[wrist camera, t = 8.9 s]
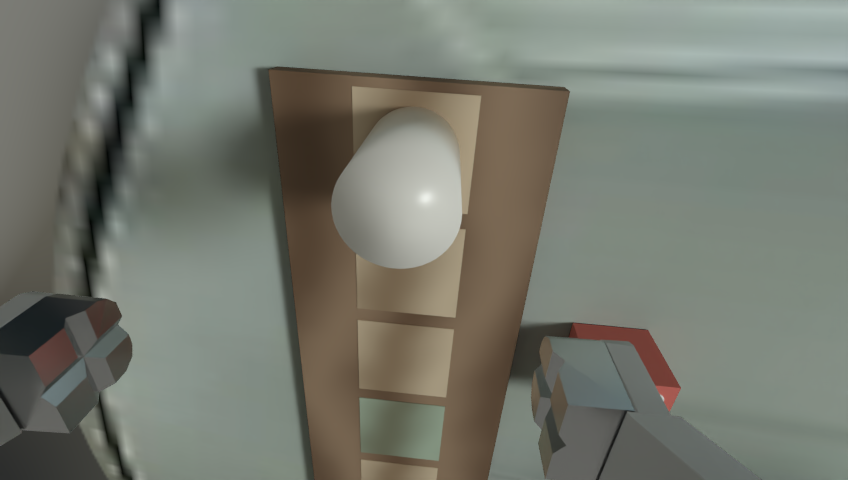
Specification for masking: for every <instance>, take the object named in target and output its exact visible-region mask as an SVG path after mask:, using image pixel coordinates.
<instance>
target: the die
mask: <svg viewBox="0 0 848 480" xmlns="http://www.w3.org/2000/svg"><path fill="white" fill-rule="evenodd" d="M569 338H579V339H592V340H615V341H629V342H630V343H631V344H633V345H634V347H635V349H636V351H637V353H638V354H639V356H640V358H641V360H642V362H643V364H644V366H645V367H646V369H647V371H648V373H649V375H650V377H651V379H652V381H653V382H654V384H655V386H656V388H657V390H658V392H659V394H660V396H661V397H662V399H663V401H664V403H665V405H666V407H667V409H668V411H669V412H670V409H671V407H672V405H673V403H674V401H675V399H676V397H677V395H678V393H679V391H680V389H681V387H680V386H679V384H678V382H677V380H676V379H675V377H674V375H673V373H672V372H671V370H670V368H669V366H668V365H667V363H666V361H665V359H664V357H663V356H662V354H661V352H660V350H659V349H658V347H657V345H656V343H655V342H654V340H653V338H652V336H651V335H650V333H649V331H648V330H641V329H631V328H621V327H610V326H600V325H590V324H579V323H573V324H572V327H571V331H570V334H569Z"/></svg>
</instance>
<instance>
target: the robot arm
mask: <svg viewBox="0 0 848 480" xmlns="http://www.w3.org/2000/svg"><path fill="white" fill-rule="evenodd" d="M121 317H122V315H121V313H120V310H119V308H118V306H117V304H116V302H113V301H111V300H108V299H103V298H94V297H85V296H76V295H66V294H52V293H43V292H34V291H32V292H27V293H22V294H19V295H17V296H16V297H14V298H13V299H11V300H9V301H8V302H6V303H5V304H3V305H2V306H0V446H1V445H3V444H4V443H6V442H8V441H9V440H11V439H13V438H14V437H16V436H17V435H19V434H21V433H22V431H21V430H28V431H43V432H58V433H71V431H72V430H73V429H74V428H75V427H76V426H77V425H78V424H79V423H80V422H81V421H82V419H83V418H84V417H85V416H86V415H87V414H88V413H89V412H90V411H91V410H92V409H93V407H94V406H95V405H96V404H97V403H98V398H99V392H100V391H102V390H103V389H105V388H107V387H109V386H111V385H113V384H115V383H116V382H117V381H118V380H119V379H120V377H121V376H122V375H123V374H124V373H125V372H126V370H127V368H128V365H129V363H130V360H131V358H132V342H131V339H130V337H129V334H128V333H127V332H125V331H124V330H123V329H122V328H121V327H120V326H119V325H118V323H119V321H120V319H121ZM539 354H540V359H541V363H542V365H540V366H539V367H538V368H536V369H535V371H534V376H533V381H532V392H531V401H532V411H533V417H534V422H535V423H536V424H537V425H538V426H539V427H540V428H541V429H542V431H541V435H540V439H539V442H538V444H539V450H540V455H541V460H542V465H543V470H544V475H545V479H550V480H762V479H760V478H759V477H758V476H756V475H755V474H754V473H753V472H751V471H750V470H749V469H747V468H746V467H745V466H744V465H742V464H741V463H740V462H738V461H737V460H736V459H735V458H733V457H732V456H731V455H729V454H728V453H727V452H725V451H724V450H723V449H722V448H720V447H719V446H718V445H716V444H715V443H714V442H713V441H711V440H710V439H709V438H707V437H706V436H705V435H704V434H702V433H701V432H700V431H698V430H697V429H696V428H695V427H693V426H692V425H691V424H689V423H688V422H687V421H686V420H684V419H683V418H682V417H679V416H671V414H670V412H669V411H668V409H667V407H666V405H665V403H664V401H663V399H662V397H661V396H660V394H659V392H658V390H657V388H656V386H655V384H654V382H653V381H652V379H651V377H650V375H649V373H648V371H647V369H646V367H645V366H644V364H643V362H642V360H641V358H640V356H639V354H638V353H637V351H636V349H635V347H634V345H633V344H631V343H630V342H629V341H615V340H592V339H579V338H566V337H553V336H545V337H544V338H543V340H542V342H541V346H540V350H539Z"/></svg>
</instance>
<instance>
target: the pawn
mask: <svg viewBox="0 0 848 480" xmlns="http://www.w3.org/2000/svg"><path fill="white" fill-rule="evenodd" d="M331 209H332V216H333V221H334V224H335V227H336V229H337V231H338V233H339V235H340V236H341V238H342V239H343V241H344V242H345V243H346V244H347V245H348V247H349V248H350V249H352V250H353V251H354V252H355V253H356V254H358V255H359V256H360V257H362V258H363V259H365V260H367V261H369V262H371V263H374V264H376V265H379V266H383V267H387V268H395V269H407V268H414V267H418V266H422V265H424V264H427V263H429V262H431V261H433V260H435V259H437V258H438V257H439V256H441V255H442V254H443V253H444V252H445V251H446V250H447V249H448V248H449V247H450V246H451V244H452V243H453V241H454V240H455V238H456V236H457V234H458V232H459V229H460V225H461V220H462V196H461V168H460V147H459V142H458V139H457V136H456V134H455V132H454V130H453V129H452V127H451V126H450V124H449V123H448V122H447V121H446V120H445V119H444V118H443V117H441V116H440V115H438V114H437V113H435V112H433V111H431V110H428V109H426V108H421V107H403V108H399V109H396V110H393V111H391V112H389V113H388V114H386V115H385V116H383V117H382V118H381V119H380V120H379V121H378V122H377V123H376V125H375V126H374V127H373V129H372V130H371V132H370V133H369V135H368V136H367V137H366V139H365V140H364V142H363V143H362V145H361V146H360V148H359V149H358V150H357V152H356V153H355V155H354V156H353V158H352V159H351V161H350V162H349V163H348V165H347V166H346V168H345V169H344V171H343V172H342V174H341V175H340V177H339V178H338V180H337V182H336V185H335V187H334V190H333V194H332V202H331Z"/></svg>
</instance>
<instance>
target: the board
mask: <svg viewBox="0 0 848 480" xmlns="http://www.w3.org/2000/svg"><path fill="white" fill-rule="evenodd" d="M269 79H270V88H271V96H272V105H273V114H274V123H275V132H276V141H277V150H278V159H279V168H280V177H281V186H282V195H283V204H284V212H285V221H286V230H287V239H288V248H289V257H290V266H291V275H292V284H293V293H294V302H295V311H296V320H297V328H298V337H299V346H300V355H301V364H302V373H303V382H304V391H305V400H306V409H307V418H308V427H309V436H310V444H311V453H312V462H313V471H314V480H488V475H489V470H490V465H491V461H492V456H493V451H494V447H495V442H496V437H497V432H498V428H499V423H500V418H501V414H502V409H503V404H504V399H505V395H506V390H507V385H508V381H509V376H510V371H511V367H512V362H513V357H514V352H515V348H516V343H517V338H518V334H519V329H520V324H521V319H522V315H523V310H524V305H525V301H526V296H527V291H528V286H529V282H530V277H531V272H532V268H533V263H534V258H535V253H536V249H537V244H538V239H539V235H540V230H541V225H542V220H543V216H544V211H545V206H546V202H547V197H548V192H549V187H550V183H551V178H552V173H553V169H554V164H555V159H556V154H557V150H558V145H559V140H560V136H561V131H562V126H563V121H564V117H565V112H566V107H567V103H568V98H569V93H570V91H569V90H567V89H566V88H565V87H553V86H540V85H526V84H512V83H498V82H484V81H470V80H456V79H442V78H429V77H415V76H401V75H387V74H373V73H359V72H345V71H332V70H318V69H304V68H290V67H275V68H272V69H269ZM403 107H421V108H426V109H428V110H431V111H433V112H435V113H437V114H438V115H440V116H441V117H443V118H444V119H445V120H446V121H447V122H448V123H449V124H450V126H451V127H452V129H453V130H454V132H455V134H456V136H457V139H458V142H459V147H460V168H461V196H462V220H461V225H460V229H459V232H458V234H457V236H456V238H455V240H454V241H453V243H452V244H451V246H450V247H449V248H448V249H447V250H446V251H445V252H444V253H443V254H442V255H441V256H439V257H438V258H437V259H435V260H433V261H431V262H429V263H427V264H424V265H422V266H418V267H414V268H407V269H395V268H387V267H383V266H379V265H376V264H374V263H371V262H369V261H367V260H365V259H363V258H362V257H360V256H359V255H358V254H356V253H355V252H354V251H353V250H352V249H350V248H349V247H348V245H347V244H346V243H345V242H344V241H343V239H342V238H341V236H340V235H339V233H338V231H337V229H336V227H335V224H334V221H333V216H332V209H331V202H332V194H333V190H334V187H335V185H336V182H337V180H338V178H339V177H340V175H341V174H342V172H343V171H344V169H345V168H346V166H347V165H348V163H349V162H350V161H351V159H352V158H353V156H354V155H355V153H356V152H357V150H358V149H359V148H360V146H361V145H362V143H363V142H364V140H365V139H366V137H367V136H368V135H369V133H370V132H371V130H372V129H373V127H374V126H375V125H376V123H377V122H378V121H379V120H380V119H381V118H382V117H383V116H385V115H386V114H388V113H389V112H391V111H393V110H396V109H399V108H403Z"/></svg>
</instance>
